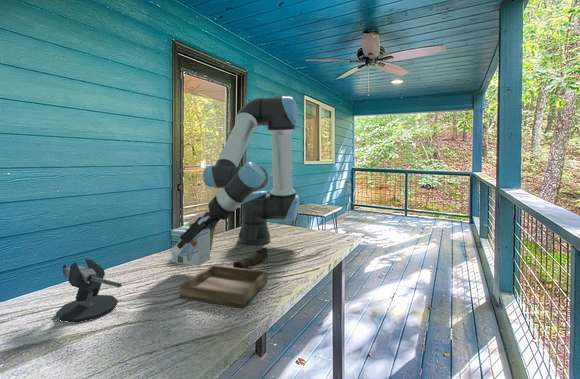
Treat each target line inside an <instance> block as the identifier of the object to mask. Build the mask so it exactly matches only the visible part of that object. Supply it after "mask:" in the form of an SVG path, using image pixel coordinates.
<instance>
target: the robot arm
mask: <svg viewBox="0 0 580 379" xmlns="http://www.w3.org/2000/svg"><path fill="white" fill-rule="evenodd" d="M299 119H300V117H299V109H298V106H297V102H296V100H295V98H293V97H292V96H271V97H270V96H269V97H268V96H267V97H257V98H253V99H252V100H250V101H248V102H246V103H245V104H244V105H243V106H242V107H241V108H240V109H239V111H238V112H237V114H236V115H235V119H234V126H233V128H232V130H231V132H230V134H229V135H228V138H227V140H226V142H225V144H224V146H223V149H222V150H221V152H220V154H219V156H218V159H217V160H216V162H215V164H214V165H208V166H207V167H205V168H204V170H203V173H202V181H203V183H204V185H205V186H206V187H208V188H214V189H221V190H220V191H218V192H217V194H216V195H215V196H214V197H213V198H212V199H211V200H210V201H209V202H208V210H209V211H207V212H204V214H203V216H199V217H198V218H196V220H195V221H194V222H193V223H194V224H193V225H192V226H191V227H190V228H189V229H188V230H187V231H186V232H185V233H184V234H183V235H181V236H180V239H181V240H180V241H179V242H178V243H177V244H176V245H175V246H174V247H173V248H172V247H171V249H170V250H171V252H172V251H173V253H174V254H175V255H176V256H178V255H179V254H180V253H181V252H182V251H183V250H184V249H185V247H186V246H187V245H188V244H189V243H190V241H191V240H192V239H193V238H194V237H195V236H196V235H197V234H198V233H200V232H201V231H202V230H203V229H207V228H208V229H210V231H211V230H212V229H213V228H214V227H215V226H217V225H218V224H219V223H220V221H222V220H223V221H224V220H227V219H228V218H229V217H231V215H232V214H233V213H234V212H235V211H236V210H237V209H241V227H240V230H239V233H238V243H240V244H244V245H249V246H250V245H251V246H253V245H254V246H255V245H256V246H257V245H264V244H268V243H270V242H271V239H272V238H271V233H270V230H269V226H268V220H270V221H271V220H272V221H284V222H289V221H291V222H292V221H295V220H296V219H297V216H298V213H299V209H300V200H301V199H300V196H299V195H297V194H296V193H297V192H296V190H295V189H294V188H293V163H292V162H293V161H292V159H293V156H292V155H293V154H292V133H293V132H294V131H295V130H296V128H295V126H297V125H299V123H300V122H299V121H300V120H299ZM260 126H264V127H266V126H267V127H266V128H267V131H268V132H269V133H270V134H271V135H270V136H271V163H272V164H271V165H272V187H273V188H272V189H270V191H269V194H268V191H267V190H261V189H263V188H265V187H266V186H267V185H269V183H270V181H271V173H270V171H269V169H267V168H266V167H264V166H262V165H261V166H260V165H258V164H256V163H255V162H253V161H247V162H246V163H245V164H244V165H243V166H239V165H240V162H241V160H242V157H243V156H244V153H245V150H246V149H247V146H248V145H249V144H248V143H249V142H250V139H251V137H252V134H253V132H255V131H256V130H257V129H258V127H260ZM216 224H217V225H216ZM215 228H216V227H215Z"/></svg>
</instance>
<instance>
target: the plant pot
mask: <svg viewBox="0 0 580 379" xmlns="http://www.w3.org/2000/svg"><path fill="white" fill-rule="evenodd" d="M194 223H195V222H191V223H188V224H186V226H189V227H191V226H192V225H193V224H194ZM217 225H218V223H217V224H216V226H217ZM216 226H215V227H214V228H213V229H212V230H211V231H210V252H211V251H212V248H213V241H214V235H215V231H216Z"/></svg>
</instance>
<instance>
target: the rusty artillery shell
mask: <svg viewBox="0 0 580 379" xmlns="http://www.w3.org/2000/svg"><path fill="white" fill-rule="evenodd" d="M268 253H269V252H268V248H267V247H266V246H265V247H261V248H258V249H257V250H256V252H254V253H253V254H251V255H249V256H247V257H243V259H239V260H238V261H234V262H233V266H232V267H235V268H243V269H249V268H250V267H252V266H254V265H256V264H257V263H259V262H261V263H262V262H263V263H264V261H265V260H266V259H267V258H268V257H269V254H268Z"/></svg>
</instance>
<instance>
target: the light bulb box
mask: <svg viewBox="0 0 580 379" xmlns="http://www.w3.org/2000/svg"><path fill="white" fill-rule="evenodd" d="M189 228H190V227H189V226H187V225H183V226H180V227H177V228H174V229H171V230H170V231H171V232H170V234H171V239H170V240H171V249H172V248H173V247H174V246H175V245H176V244H177V243H178V242H179V241H180V240H181V239H180V236H181V235H183V234H184V233H185V232H186V231H187V230H188V229H189ZM210 261H211V251H210V229H208V228H207V229H203V230H202V231H201V232H200V233H198V234H197V235H196V236H195V237H194V238H193V239H192V240H191V241H190V243H189V244H188V245H187V246H186V247H185V249H184V250H183V251H182V252H181V253H180V254H179V255H178V256H176V255H175V254H174V253H173V251H172V250H171V262H172V263H177V264H184V265H188V266H189V265H190V266H195V267H196V266H197V267H199V266H201V265H203V264H205V263H207V262H210Z"/></svg>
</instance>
